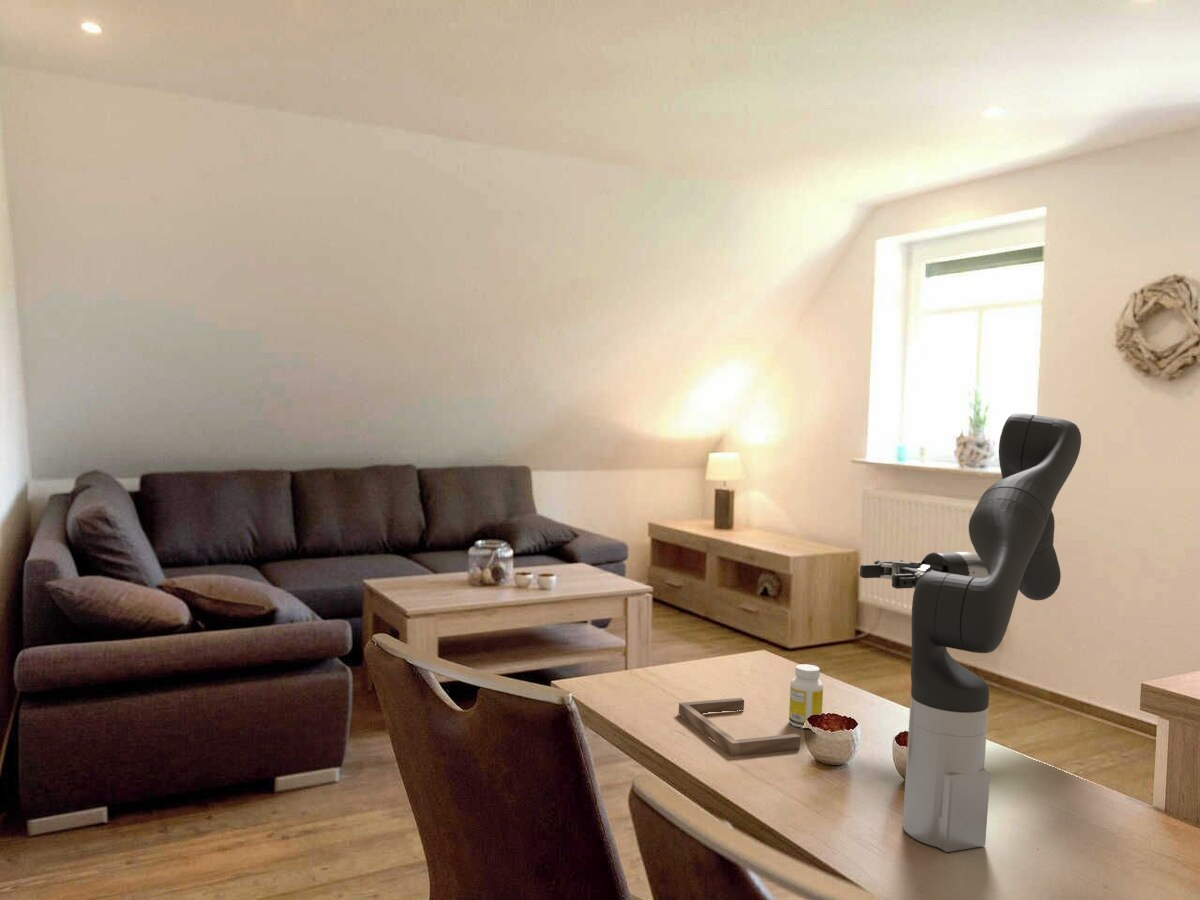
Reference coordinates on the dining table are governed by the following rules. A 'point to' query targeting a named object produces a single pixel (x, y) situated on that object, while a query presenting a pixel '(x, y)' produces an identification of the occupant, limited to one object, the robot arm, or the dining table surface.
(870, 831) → the dining table surface
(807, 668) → the supplement bottle
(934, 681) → the robot arm
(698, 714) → the walnut tray
